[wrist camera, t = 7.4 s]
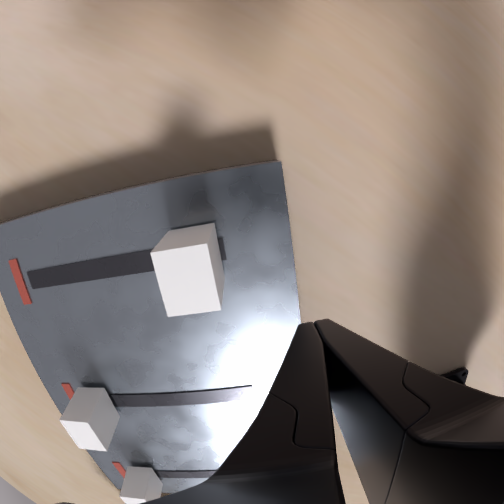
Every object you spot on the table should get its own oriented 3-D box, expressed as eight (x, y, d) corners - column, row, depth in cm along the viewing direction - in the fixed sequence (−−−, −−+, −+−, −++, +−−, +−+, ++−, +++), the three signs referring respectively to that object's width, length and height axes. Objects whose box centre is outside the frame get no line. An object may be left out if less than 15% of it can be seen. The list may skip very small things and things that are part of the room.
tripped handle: (214, 222, 16) (207, 243, 13) (225, 277, 17) (220, 310, 14) (168, 230, 16) (150, 252, 13) (181, 284, 17) (167, 317, 14)
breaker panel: (276, 159, 18) (281, 161, 16) (309, 467, 26) (312, 483, 24) (-3, 224, 18) (-20, 231, 16) (121, 475, 27) (117, 489, 25)
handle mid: (104, 387, 20) (87, 422, 16) (119, 416, 20) (107, 451, 17) (77, 387, 20) (59, 420, 16) (93, 415, 21) (79, 448, 17)
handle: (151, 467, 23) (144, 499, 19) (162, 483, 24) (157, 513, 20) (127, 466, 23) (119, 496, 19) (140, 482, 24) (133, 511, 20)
